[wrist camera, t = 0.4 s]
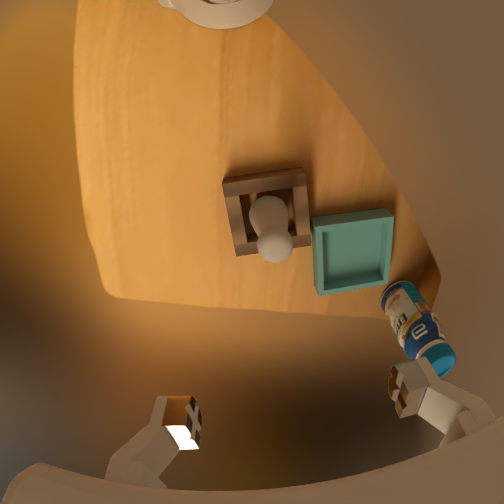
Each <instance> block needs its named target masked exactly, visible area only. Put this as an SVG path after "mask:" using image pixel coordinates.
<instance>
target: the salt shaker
mask: <svg viewBox="0 0 504 504" xmlns="http://www.w3.org/2000/svg"><path fill="white" fill-rule="evenodd" d="M249 218H250V222H251V224H252V226H253V228H254V230H255V232H256V234H257V235H258V241H257V248H258V252H259V254H260V255H261V257H262V258H263V259H264V260H266V261H268V262H271V263H279V262H281V261H284V260H286V259H287V258H288V257H289V256H290V255H291V253H292V250H293V240H292V237H291V235H290V234H289V232H288V220H289V213H288V207H287V206H286V204H285V203H284V202H283V200H282V199H280V198H278V197H276V196H269V195H265V196H263V197H260V198H258V199H257V200H256V201H255V202H254V203H253V204H252V205H251V208H250V212H249Z"/></svg>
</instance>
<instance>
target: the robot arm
mask: <svg viewBox="0 0 504 504" xmlns="http://www.w3.org/2000/svg"><path fill="white" fill-rule="evenodd" d="M273 1H274V0H158V3H159V4H160V5H161V6H163V7H165V8H169V9H173V10H176V11H178V12H180V13H181V14H182V15H183V16H184V17H186V18H187V19H188V20H190V21H192V22H193V23H195V24H198V25H200V26H204V27H208V28H214V29H228V28H235V27H239V26H243V25H246V24H248V23H250V22H252V21H254V20H256V19H258V18H259V17H260V16H262V15H263V14H264V13H265V12H266V11H267V10H268V9H269V8H270V6H271V4H272V3H273ZM391 374H392V377H390V378H389V382H388V390H389V394H390V397H391V399H392V400H394V401H396V405H395V408H396V411H397V413H398V415H399V417H400V418H403V417H406V416H410V415H413V414H416V413H418V415H419V416H421V417H422V418H424V419H425V420H426V421H428V422H429V423H430V424H432V425H434V426H435V427H436V428H437V429H439V430H440V431H442V432H443V433H444V434H446V435H445V436H444V438H443V440H442V441H441V443H440V445H439V447H440V448H438V449H435V450H433V451H430V452H428V453H425V454H422V455H420V456H417V457H414V458H411V459H409V460H406V461H403V462H400V463H397V464H393V465H390V466H387V467H384V468H380V469H377V470H373V471H370V472H366V473H362V474H358V475H354V476H349V477H345V478H340V479H336V480H331V481H325V482H320V483H314V484H309V485H302V486H294V487H286V488H276V489H266V490H252V491H186V490H171V489H167V487H166V486H165V485H164V484H163V483H162V482H161V481H160V480H159V479H158V476H159V475H160V474H161V473H162V472H163V470H164V469H165V468H166V467H167V466H168V464H169V463H170V462H171V461H172V459H173V458H174V457H175V456H176V454H177V453H178V452H179V451H180V449H199V445H200V434H199V432H198V431H199V430H200V429H201V428H202V415H201V411H200V409H199V407H197V406H196V400H195V398H194V397H193V396H158V397H157V399H156V402H155V405H154V409H153V413H152V416H151V420H150V424H149V426H145V427H144V428H143V429H142V430H141V431H140V432H138V433H137V434H136V435H135V436H134V437H133V438H132V439H131V440H130V441H128V442H127V443H126V444H125V445H124V446H123V447H122V448H120V449H119V450H118V451H117V452H116V453H115V454H114V455H112V456H111V459H110V462H109V465H108V468H107V472H106V475H105V479H104V480H103V479H98V478H94V477H89V476H85V475H81V474H77V473H73V472H70V471H67V470H63V469H60V468H56V467H53V466H50V465H47V464H43V463H36V464H34V465H32V466H31V467H29V468H27V469H26V470H24V471H23V472H21V473H20V474H18V475H17V476H16V477H15V478H14V479H13V480H12V482H11V483H10V485H9V487H8V489H7V491H6V493H5V495H4V498H3V500H2V502H1V504H504V416H502V417H501V418H498V419H497V420H496V419H495V417H494V415H493V414H492V412H491V411H490V409H489V407H488V406H487V404H486V402H485V401H484V400H483V399H481V398H479V397H476V396H475V395H472V394H470V393H468V392H466V391H464V390H462V389H460V388H458V387H456V386H454V385H452V384H450V383H448V382H446V381H442V382H441V380H440V378H439V377H438V375H437V374H436V372H435V370H434V369H433V367H432V366H431V364H430V363H429V361H428V359H427V358H426V357H421V358H417V359H414V360H410V361H407V362H403V363H400V364H397V365H393V367H392V368H391Z"/></svg>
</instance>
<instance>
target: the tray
mask: <svg viewBox="0 0 504 504" xmlns="http://www.w3.org/2000/svg"><path fill="white" fill-rule="evenodd" d="M393 224H394V216H393V215H392V214H391V213H390V212H389V211H388V210H387V209H386V208H382V209H373V210H365V211H357V212H349V213H342V214H334V215H326V216H319V217H311V233H312V249H313V268H314V285H315V288H316V291H317V294H318V296H322V295H328V294H334V293H340V292H346V291H352V290H357V289H363V288H368V287H373V286H379V285H384V284H388V278H389V270H390V260H391V250H392V238H393Z"/></svg>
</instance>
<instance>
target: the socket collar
mask: <svg viewBox="0 0 504 504" xmlns="http://www.w3.org/2000/svg"><path fill="white" fill-rule="evenodd" d="M222 187H223V192H224V197H225V202H226V207H227V212H228V217H229V222H230V227H231V232H232V237H233V242H234V247H235V252H236V256H242V255H249V254H256V253H259V252H258V248H257V241H258V235H257V234H256V233H252V234H247V232H246V226H245V220H244V215H243V209H242V203H241V198H240V195H245V194H252V193H258V192H265V191H272V190H279V189H287V188H290V190H291V199H292V208H293V218H294V227H293V228H288V232H289V234H290V235H291V237H292V240H293V248H297V247H304V246H311V235H310V221H309V208H308V196H307V184H306V174H305V171H304V170H303V169H302V167H300V168H292V169H284V170H276V171H269V172H262V173H255V174H248V175H242V176H236V177H229V178H223V182H222Z"/></svg>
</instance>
